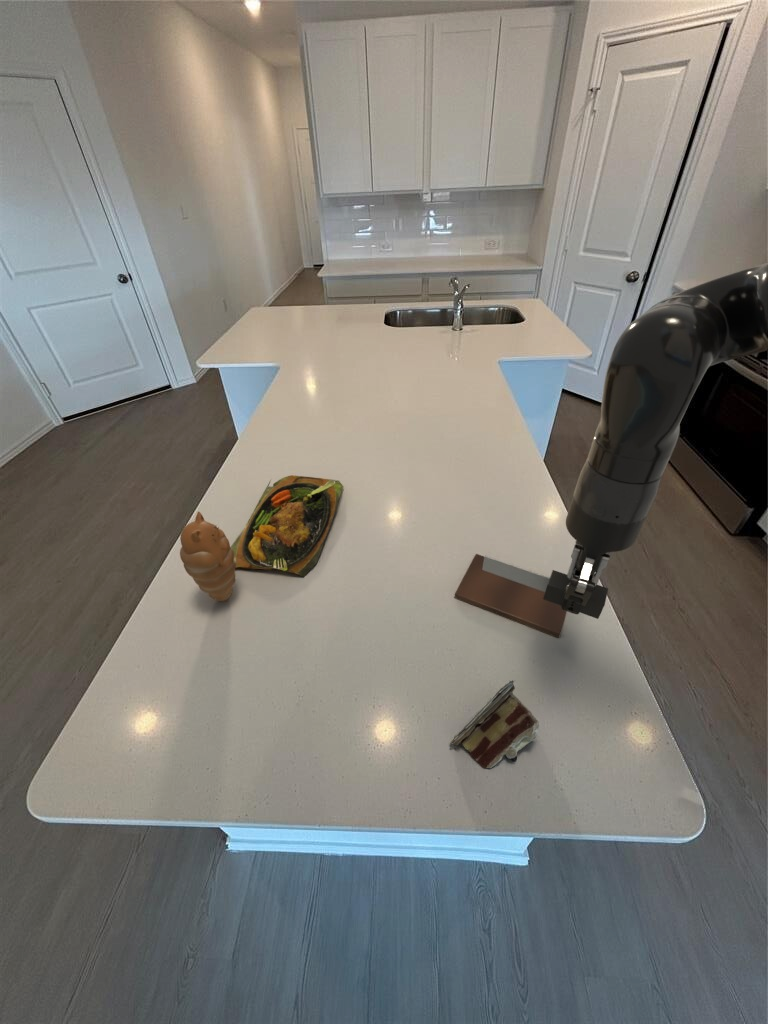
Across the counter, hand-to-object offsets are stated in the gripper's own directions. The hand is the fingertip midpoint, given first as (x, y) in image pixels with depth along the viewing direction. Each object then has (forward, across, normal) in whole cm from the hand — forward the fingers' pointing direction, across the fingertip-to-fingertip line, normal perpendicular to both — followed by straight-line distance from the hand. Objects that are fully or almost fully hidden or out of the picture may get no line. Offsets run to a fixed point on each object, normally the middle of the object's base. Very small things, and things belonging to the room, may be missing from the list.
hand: (572, 600), depth 59 cm
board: (+15, +10, +9) cm, 20 cm away
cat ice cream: (+14, -15, +54) cm, 58 cm away
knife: (0, 0, +5) cm, 5 cm away
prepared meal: (+14, +6, +56) cm, 58 cm away
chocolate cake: (+15, -15, +4) cm, 21 cm away
